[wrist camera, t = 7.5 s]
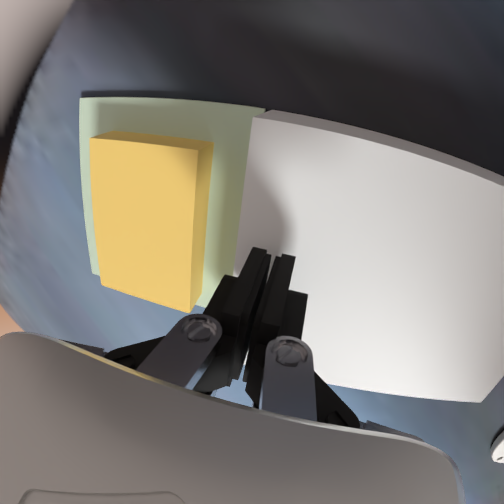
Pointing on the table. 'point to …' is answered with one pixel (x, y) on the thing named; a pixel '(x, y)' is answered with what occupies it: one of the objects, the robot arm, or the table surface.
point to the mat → (184, 126)
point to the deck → (382, 254)
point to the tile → (151, 214)
